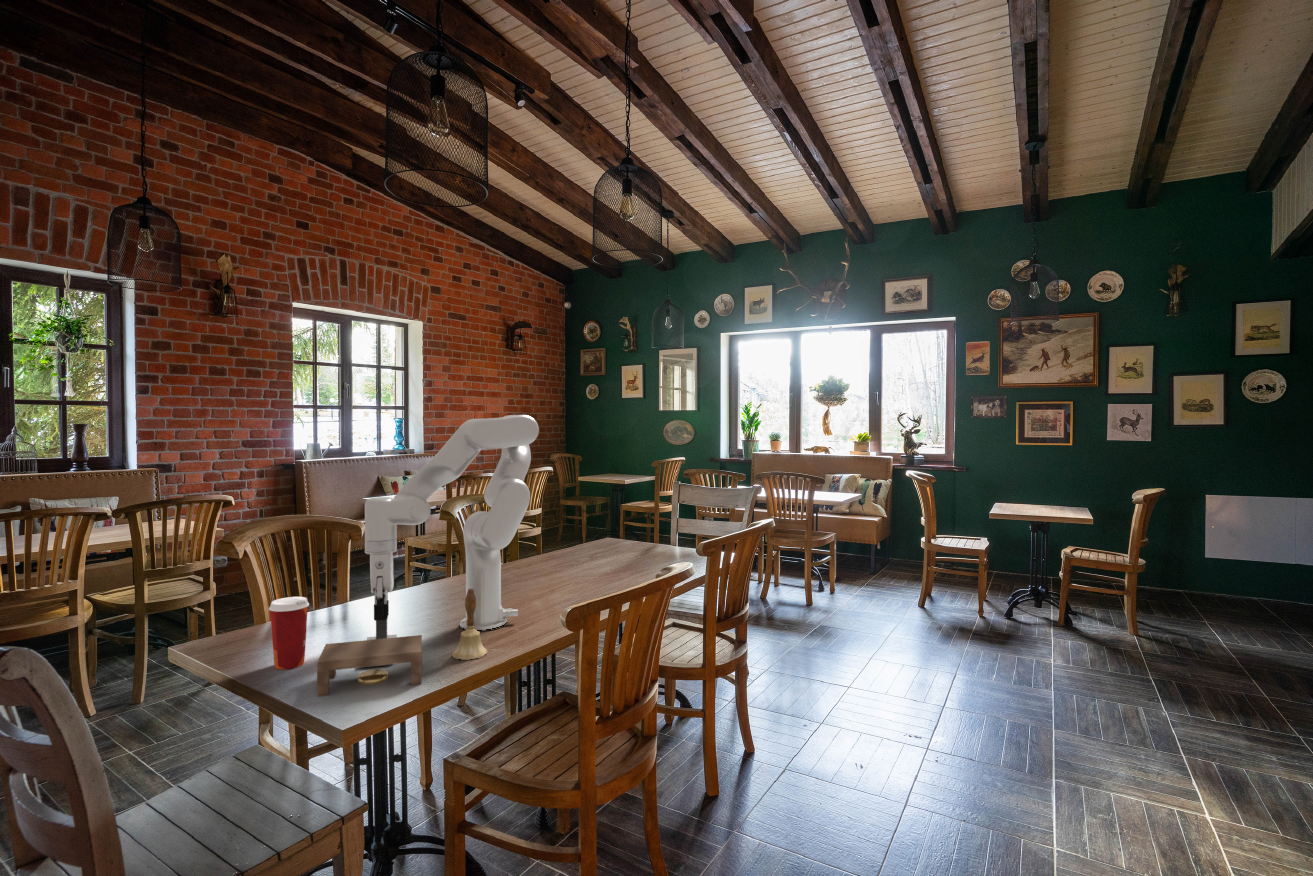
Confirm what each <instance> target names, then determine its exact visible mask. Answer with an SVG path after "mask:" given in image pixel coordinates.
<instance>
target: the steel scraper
mask: <svg viewBox="0 0 1313 876" xmlns="http://www.w3.org/2000/svg"><path fill="white" fill-rule="evenodd" d="M383 591H385V589H384V590H383ZM383 595H384V594H383ZM397 635H398V634H389V635H388V619H387V620H377V621H375V636H366V640H374V639H385V638H395V637H398V636H397ZM388 665H391V664H387V665H386V666H388ZM379 666H381V667H382V665H378V666H377V667H379ZM370 667H373V666H368V667H367V668H370ZM359 668H360V669H361V668H363V667H359Z"/></svg>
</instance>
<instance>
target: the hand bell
mask: <svg viewBox="0 0 1313 876" xmlns="http://www.w3.org/2000/svg"><path fill="white" fill-rule="evenodd" d="M464 606H465V613H466V612H467V629H464V630H463V631H462V632H461V633H460V638H459V642H458V645H457V648H456V649H455V650H454V651H453V652H452V655H451V656H452V658H453V659H455V660H458V659H461V660H460V661H471V660H470V659H474V660H476V659H475V658H479V657H480V656H483V655H484V654H486V653H487V652H488V650H487V648H485V647H484V646H483V643H482V640H481V639H482V638H481V633H480V632H481V631H477V630H475V629H474V612H475V608H476V597H475V593H474V589H468V592H467V595H466V594H465V601H464ZM479 659H480V658H479Z"/></svg>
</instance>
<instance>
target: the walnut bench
mask: <svg viewBox="0 0 1313 876" xmlns="http://www.w3.org/2000/svg"><path fill="white" fill-rule="evenodd" d="M405 663H410V664H411V665H410V674H411V678H410V679H411V681H410V682H411V683H410V684H411V686H415V685H422V669H423V668H422V667H423V635H422V634H420V635H419V634H418V635H409V636H408V635H407V636H397V637H395V638H385V639H374V640H367V639H364V640H356V641H355V640H354V641H345V642H336V643H335V642H334V643H326V644H325V646H324V647H323V649H322V652H321V653H320V656H319V658H318V660H317V661H316V685H317V686H316V687H317V688H316V689H317V690H316V691H317V693H316V696H317V697H323V696H329V694H330V688H331V687H330V685H331V684H330V682H331V681H330V679H334V678H336V676H337V671H338V670H348V669H359V668H360V667H362V668H369V667H368V666H372V667H379V666H378V665H381V666H388V665H387V664H390V665H395V664H405Z"/></svg>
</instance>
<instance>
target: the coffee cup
mask: <svg viewBox="0 0 1313 876" xmlns="http://www.w3.org/2000/svg"><path fill="white" fill-rule="evenodd" d="M309 606H310V603H309V601H308V598H307V597H306V596H305V597H304V596H289V597H282V598H277V599H275V600H272V601H271V603H270V606H269V607H268V611H270V622H271V623H270V625H271V636H272V637H271V638H272V640H271V641H272V652H273V653H272V654H273V664H274V668H275V670H278V671H279V670H282V671H283V670H284V671H285V670H292V669H297V668H299V667H302V666H303V665H304V664H305V657H306V656H305V655H306V640H307V627H308V626H307V624H308V611H309V609H308V608H309Z"/></svg>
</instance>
